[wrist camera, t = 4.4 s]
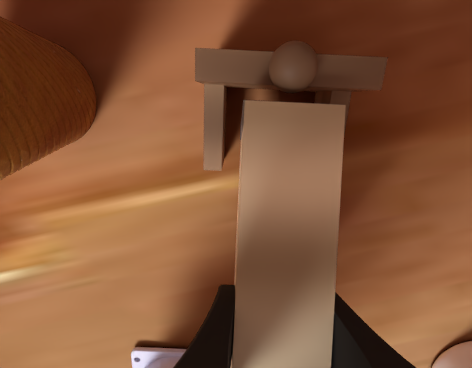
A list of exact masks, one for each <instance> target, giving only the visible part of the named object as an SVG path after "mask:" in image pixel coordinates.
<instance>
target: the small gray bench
mask: <svg viewBox="0 0 472 368" xmlns="http://www.w3.org/2000/svg"><path fill="white" fill-rule="evenodd" d="M387 59H388V57H370V56H350V55H330V54H316V53H315V51H314V50H313V49H312V47H311V46H309V45H308V44H307V43H304V42H302V41H289V42H286V43H284V44H282V45H281V46H280V47H278V48H277V49H276V50H275V52H269V51H248V50H228V49H208V48H195V81H197V82H200V83H202V84H204V170H217V171H222V166H223V162H224V152H225V122H226V92H227V87H233V88H253V89H274V90H281V91H283V92H286V93H297V92H300V91H315V92H316V95H315V103H320V104H340V105H346V108H345V125H344V134H345V128H346V122H347V116H348V110H349V104H350V98H351V92H352V91H370V90H381V89H382V84H383V79H384V74H385V69H386V64H387Z"/></svg>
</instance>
